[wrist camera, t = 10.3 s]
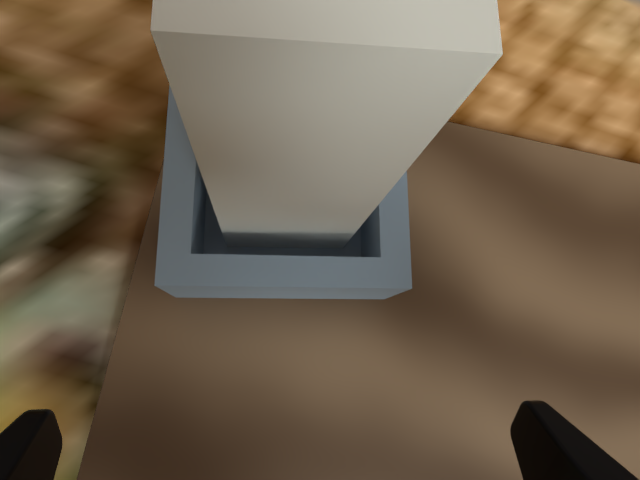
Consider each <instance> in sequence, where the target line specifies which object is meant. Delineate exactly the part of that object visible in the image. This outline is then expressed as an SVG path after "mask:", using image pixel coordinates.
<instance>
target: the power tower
mask: <svg viewBox="0 0 640 480" xmlns="http://www.w3.org/2000/svg"><path fill="white" fill-rule="evenodd" d="M150 31H151V33H152V36H153V39H154V42H155V45H156V48H157V50H158V53H159V56H160V59H161V62H162V65H163V67H164V70H165V73H166V76H167V79H168V81H169V84H170V87H171V90H172V93H173V96H174V98H175V101H176V104H177V107H178V110H179V113H180V115H181V118H182V121H183V124H184V127H185V130H186V132H187V135H188V138H189V141H190V144H191V147H192V149H193V152H194V155H195V158H196V161H197V163H198V166H199V169H200V172H201V175H202V178H203V180H204V183H205V186H206V189H207V192H208V195H209V197H210V200H211V203H212V206H213V209H214V212H215V214H216V217H217V220H218V223H219V226H220V229H221V231H222V234H223V237H224V240H225V243H226V246H227V247H277V248H343V247H344V246H345V245H346V243H347V242H348V241H349V240H350V239H351V237H352V236H353V235H354V234H355V233H356V231H357V230H358V229H359V228H360V227H361V225H362V224H363V223H364V222H365V220H366V219H367V218H368V217H369V216H370V214H371V213H372V212H373V211H374V210H375V208H376V207H377V206H378V205H379V203H380V202H381V201H382V200H383V199H384V197H385V196H386V195H387V194H388V193H389V191H390V190H391V189H392V188H393V187H394V185H395V184H396V183H397V182H398V180H399V179H400V178H401V177H402V176H403V174H404V173H405V172H406V171H407V170H408V168H409V167H410V166H411V165H412V163H413V162H414V161H415V160H416V159H417V157H418V156H419V155H420V154H421V153H422V151H423V150H424V149H425V148H426V147H427V145H428V144H429V143H430V142H431V140H432V139H433V138H434V137H435V136H436V134H437V133H438V132H439V131H440V130H441V128H442V127H443V126H444V125H445V124H446V122H447V121H448V120H449V119H450V117H451V116H452V115H453V114H454V113H455V111H456V110H457V109H458V108H459V107H460V105H461V104H462V103H463V102H464V100H465V99H466V98H467V97H468V96H469V94H470V93H471V92H472V91H473V90H474V88H475V87H476V86H477V85H478V84H479V82H480V81H481V80H482V79H483V77H484V76H485V75H486V74H487V73H488V71H489V70H490V69H491V68H492V67H493V65H494V64H495V63H496V62H497V60H498V59H499V58H500V57H501V56H502V54H503V52H502V42H501V33H500V24H499V15H498V5H497V0H153V4H152V17H151V30H150Z"/></svg>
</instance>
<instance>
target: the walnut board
mask: <svg viewBox="0 0 640 480" xmlns="http://www.w3.org/2000/svg"><path fill="white" fill-rule="evenodd" d="M163 165H164V160H163V164H162V167H161V171H160V175H159V178H158V182H157V186H156V189H155V193H154V197H153V200H152V204H151V208H150V211H149V215H148V219H147V223H146V226H145V230H144V234H143V237H142V241H141V245H140V248H139V252H138V256H137V259H136V263H135V267H134V270H133V274H132V278H131V281H130V285H129V289H128V292H127V296H126V300H125V304H124V307H123V311H122V315H121V318H120V322H119V326H118V329H117V333H116V337H115V340H114V344H113V348H112V351H111V355H110V359H109V362H108V366H107V370H106V374H105V377H104V381H103V385H102V388H101V392H100V396H99V399H98V403H97V407H96V410H95V414H94V418H93V421H92V425H91V429H90V432H89V436H88V440H87V443H86V447H85V451H84V455H83V458H82V462H81V466H80V469H79V473H78V477H77V480H523V477H522V474H521V471H520V467H519V464H518V460H517V457H516V453H515V450H514V447H513V443H512V440H511V435H510V428H511V424H512V422H513V420H514V417H515V415H516V413H517V411H518V409H519V406H520V404H521V403H522V402H523V401H527V400H541V401H544V402H546V403H548V404H549V405H550V406H551V407H552V408H554V409H555V410H556V411H557V412H558V413H560V414H561V415H562V416H563V417H565V418H566V419H567V420H568V421H569V422H571V423H572V424H573V425H574V426H575V427H577V428H578V429H579V430H580V431H581V432H583V433H584V434H585V435H586V436H587V437H589V438H590V439H591V440H592V441H593V442H595V443H596V444H597V445H598V446H599V447H601V448H602V449H603V450H604V451H605V452H607V453H608V454H609V455H610V456H611V457H613V458H614V459H615V460H616V461H617V462H619V463H620V464H621V465H622V466H623V467H625V468H626V469H627V470H628V471H630V472H631V473H632V474H633V475H634V476H636V477H637V478H638V479H639V480H640V164H637V163H632V162H628V161H623V160H619V159H614V158H610V157H605V156H601V155H596V154H592V153H587V152H582V151H578V150H573V149H569V148H564V147H560V146H555V145H551V144H546V143H542V142H537V141H533V140H528V139H524V138H519V137H515V136H510V135H506V134H501V133H497V132H492V131H488V130H483V129H479V128H474V127H470V126H465V125H461V124H456V123H452V122H446V124H445V125H444V126H443V127H442V128H441V130H440V131H439V132H438V133H437V134H436V136H435V137H434V138H433V139H432V140H431V142H430V143H429V144H428V145H427V147H426V148H425V149H424V150H423V151H422V153H421V154H420V155H419V156H418V157H417V159H416V160H415V161H414V162H413V163H412V165H411V166H410V167H409V168H408V170H407V186H408V207H409V229H410V251H411V273H412V289H410V290H407V291H405V292H402V293H400V294H397V295H394V296H392V297H389V298H386V299H284V298H176V297H174V296H172V295H170V294H169V293H167V292H165V291H163V290H161V289H160V288H158V287H156V286H154V284H155V271H156V258H157V245H158V231H159V218H160V205H161V191H162V178H163Z"/></svg>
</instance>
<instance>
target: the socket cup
mask: <svg viewBox="0 0 640 480" xmlns="http://www.w3.org/2000/svg"><path fill="white" fill-rule="evenodd" d="M154 286H156V287H158V288H160V289H161V290H163V291H165V292H167V293H169V294H170V295H172V296H174V297H176V298H284V299H386V298H389V297H392V296H394V295H397V294H400V293H402V292H405V291H407V290H410V289H412V273H411V251H410V229H409V207H408V186H407V171H406V172H405V173H404V174H403V176H402V177H401V178H400V179H399V180H398V182H397V183H396V184H395V185H394V187H393V188H392V189H391V190H390V191H389V193H388V194H387V195H386V196H385V197H384V199H383V200H382V201H381V202H380V203H379V205H378V206H377V207H376V208H375V210H374V211H373V212H372V213H371V214H370V216H369V217H368V218H367V219H366V220H365V222H364V223H363V224H362V225H361V227H360V228H359V229H358V230H357V231H356V233H355V234H354V235H353V236H352V237H351V239H350V240H349V241H348V242H347V243H346V245H345V246H344V247H343V248H277V247H227V246H226V243H225V240H224V237H223V234H222V231H221V229H220V226H219V223H218V220H217V217H216V214H215V212H214V209H213V206H212V203H211V200H210V197H209V195H208V192H207V189H206V186H205V183H204V180H203V178H202V175H201V172H200V169H199V166H198V163H197V161H196V158H195V155H194V152H193V149H192V147H191V144H190V141H189V138H188V135H187V132H186V130H185V127H184V124H183V121H182V118H181V115H180V113H179V110H178V107H177V104H176V101H175V98H174V96H173V93H172V90H171V87H170V85H169V98H168V112H167V125H166V138H165V151H164V165H163V178H162V191H161V205H160V218H159V231H158V245H157V258H156V271H155V284H154Z"/></svg>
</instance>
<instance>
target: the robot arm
mask: <svg viewBox="0 0 640 480" xmlns="http://www.w3.org/2000/svg"><path fill="white" fill-rule="evenodd" d="M510 435H511V440H512V443H513V447H514V450H515V453H516V457H517V460H518V464H519V467H520V471H521V474H522V477H523V480H639V479H638V478H637V477H636V476H634V475H633V474H632V473H631V472H630V471H628V470H627V469H626V468H625V467H623V466H622V465H621V464H620V463H619V462H617V461H616V460H615V459H614V458H613V457H611V456H610V455H609V454H608V453H607V452H605V451H604V450H603V449H602V448H601V447H599V446H598V445H597V444H596V443H595V442H593V441H592V440H591V439H590V438H589V437H587V436H586V435H585V434H584V433H583V432H581V431H580V430H579V429H578V428H577V427H575V426H574V425H573V424H572V423H571V422H569V421H568V420H567V419H566V418H565V417H563V416H562V415H561V414H560V413H558V412H557V411H556V410H555V409H554V408H552V407H551V406H550V405H549V404H548V403H546V402H544V401H541V400H527V401H523V402H522V403H521V404H520V406H519V409H518V411H517V413H516V415H515V417H514V420H513V422H512V424H511V428H510ZM61 449H62V436H61V433H60V430H59V426H58V423H57V420H56V417H55V414H54V412H53V411H51V410H49V409H38V410H28V411H26V412H24V413H23V414H21V415H20V416H19V417H18V418H17V419H16V420H15V421H14V422H12V423H11V424H10V425H9V426H8V427H7V428H6V429H5V430H4V431H2V432H1V433H0V480H53V479H54V476H55V472H56V468H57V465H58V461H59V457H60V453H61Z"/></svg>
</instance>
